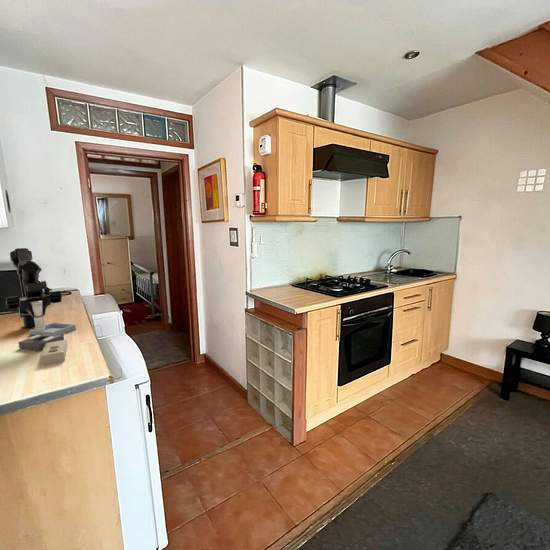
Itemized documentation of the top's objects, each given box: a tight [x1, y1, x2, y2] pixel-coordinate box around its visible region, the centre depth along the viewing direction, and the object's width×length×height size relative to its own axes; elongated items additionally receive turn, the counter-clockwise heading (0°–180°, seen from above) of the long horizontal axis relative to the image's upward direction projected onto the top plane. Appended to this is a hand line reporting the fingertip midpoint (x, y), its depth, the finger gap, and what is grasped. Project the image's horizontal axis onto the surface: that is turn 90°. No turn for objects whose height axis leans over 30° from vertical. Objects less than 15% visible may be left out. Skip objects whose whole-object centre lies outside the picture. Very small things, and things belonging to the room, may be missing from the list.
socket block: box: [18, 333, 65, 352], centre depth 129 cm, size 11×11×3 cm
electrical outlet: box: [39, 339, 69, 366], centre depth 119 cm, size 7×4×18 cm
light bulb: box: [31, 301, 46, 331], centre depth 127 cm, size 4×4×12 cm
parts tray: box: [28, 322, 77, 337], centre depth 145 cm, size 14×12×2 cm
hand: (38, 315), depth 126 cm, fingers closed on light bulb, 3 cm apart
